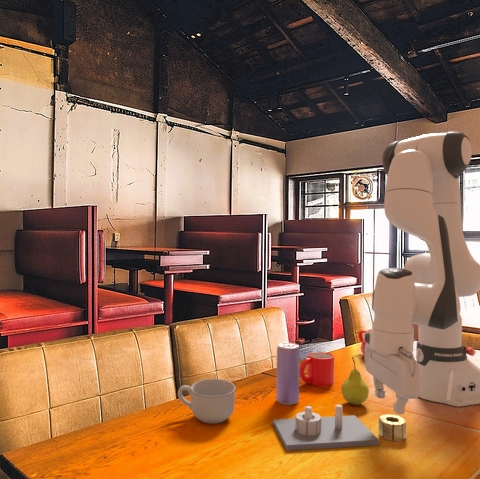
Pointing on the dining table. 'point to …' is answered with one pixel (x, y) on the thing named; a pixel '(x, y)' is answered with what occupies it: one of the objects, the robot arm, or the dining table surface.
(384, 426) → the brass gear
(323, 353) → the mug
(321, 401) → the dining table surface
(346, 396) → the fruit
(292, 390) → the beverage can
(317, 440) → the gear board
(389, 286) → the robot arm
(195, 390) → the teacup
